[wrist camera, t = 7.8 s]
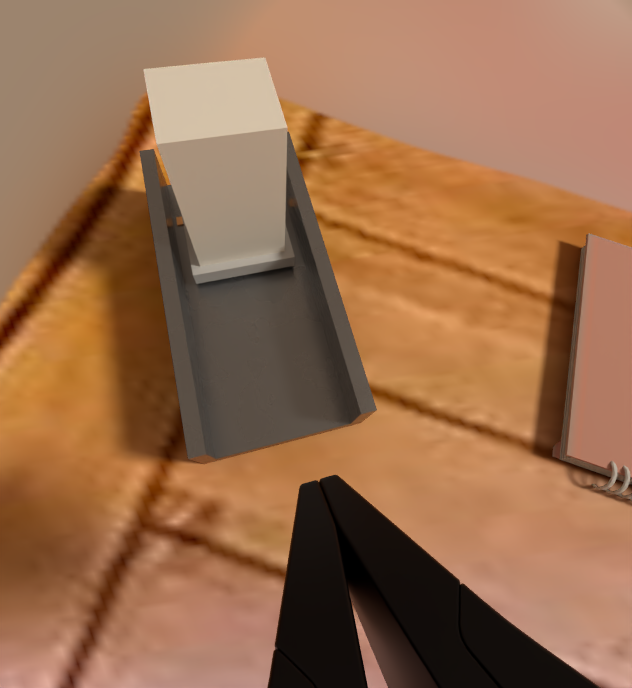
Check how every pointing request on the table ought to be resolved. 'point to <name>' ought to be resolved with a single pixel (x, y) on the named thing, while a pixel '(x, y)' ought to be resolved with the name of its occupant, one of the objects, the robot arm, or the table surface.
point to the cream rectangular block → (224, 163)
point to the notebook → (601, 366)
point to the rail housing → (256, 336)
